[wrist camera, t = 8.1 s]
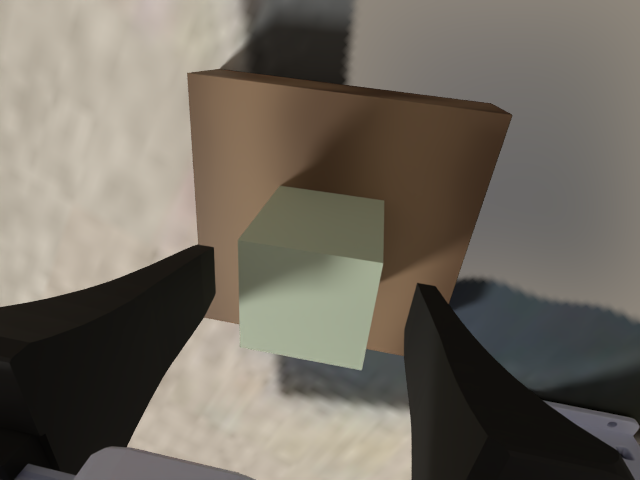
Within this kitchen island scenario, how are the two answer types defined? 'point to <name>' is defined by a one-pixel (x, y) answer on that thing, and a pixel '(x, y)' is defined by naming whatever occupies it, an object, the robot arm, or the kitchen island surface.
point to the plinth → (343, 174)
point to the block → (311, 276)
